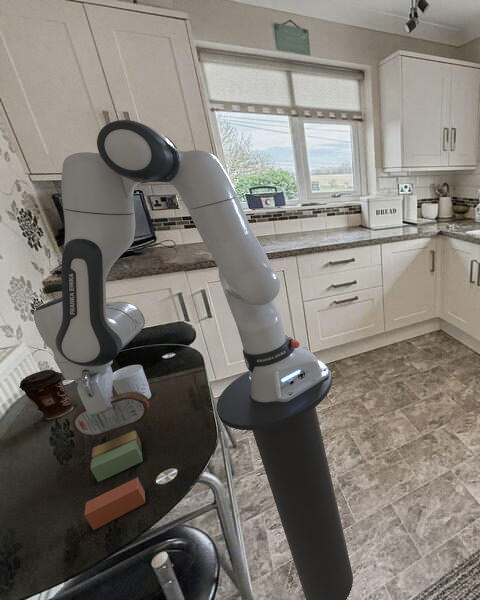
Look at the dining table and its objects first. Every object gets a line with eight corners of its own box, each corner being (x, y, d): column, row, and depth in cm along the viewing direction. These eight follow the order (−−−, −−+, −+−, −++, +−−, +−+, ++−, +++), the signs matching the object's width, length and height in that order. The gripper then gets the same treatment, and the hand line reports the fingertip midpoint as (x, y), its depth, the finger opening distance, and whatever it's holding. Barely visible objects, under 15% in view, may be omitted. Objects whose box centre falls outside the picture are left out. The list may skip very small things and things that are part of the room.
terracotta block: (144, 491, 68) (137, 477, 66) (145, 502, 65) (138, 488, 64) (94, 517, 63) (85, 502, 62) (93, 530, 61) (84, 515, 59)
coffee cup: (31, 426, 92) (7, 388, 87) (48, 409, 99) (27, 372, 94) (69, 416, 94) (48, 378, 90) (83, 400, 102) (64, 364, 97)
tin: (154, 412, 88) (143, 385, 85) (152, 418, 85) (140, 391, 82) (84, 435, 82) (69, 407, 79) (79, 443, 79) (63, 414, 77)
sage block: (142, 452, 78) (135, 440, 77) (142, 461, 76) (136, 448, 74) (98, 472, 74) (91, 459, 72) (98, 482, 71) (90, 468, 70)
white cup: (115, 406, 97) (102, 378, 94) (142, 390, 104) (130, 363, 100) (133, 410, 95) (120, 381, 91) (159, 393, 101) (148, 365, 98)
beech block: (141, 442, 82) (135, 430, 80) (141, 450, 79) (135, 437, 78) (100, 460, 77) (92, 447, 76) (99, 469, 74) (91, 456, 73)
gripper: (100, 374, 71) (126, 424, 76) (106, 344, 86) (127, 387, 91) (61, 387, 67) (91, 439, 72) (74, 353, 83) (98, 398, 88)
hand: (111, 410), depth 82 cm, fingers closed on tin, 3 cm apart
